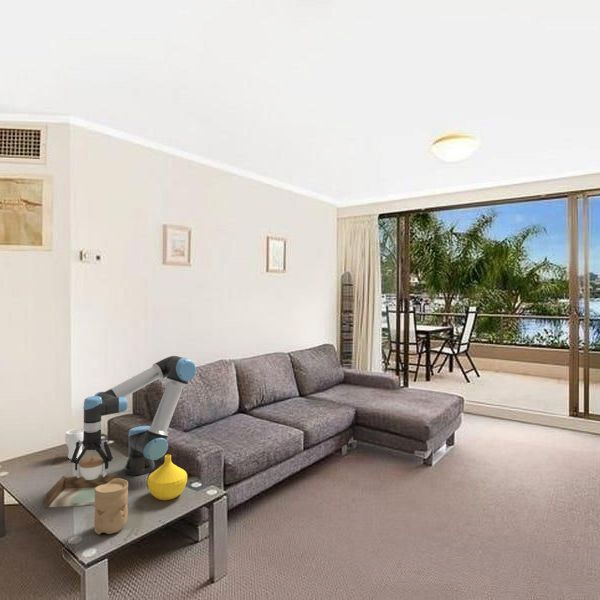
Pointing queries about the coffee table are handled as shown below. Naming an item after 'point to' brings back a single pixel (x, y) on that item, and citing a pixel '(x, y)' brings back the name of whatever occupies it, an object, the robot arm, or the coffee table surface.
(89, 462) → the lidded jar
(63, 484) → the walls
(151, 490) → the vase
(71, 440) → the cup
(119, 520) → the container
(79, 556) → the coffee table surface
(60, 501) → the board
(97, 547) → the coffee table surface
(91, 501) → the pad
